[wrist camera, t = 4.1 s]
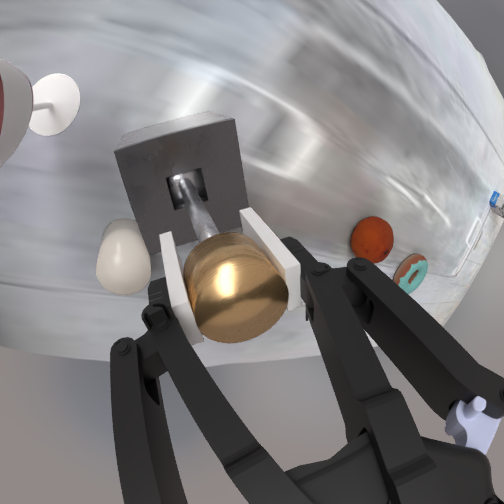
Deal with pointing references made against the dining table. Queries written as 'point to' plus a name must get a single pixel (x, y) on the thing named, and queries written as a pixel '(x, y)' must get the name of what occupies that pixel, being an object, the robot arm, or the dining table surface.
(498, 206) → the ink box
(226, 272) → the gold knobbed rod
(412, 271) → the donut
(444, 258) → the dining table surface
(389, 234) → the fruit
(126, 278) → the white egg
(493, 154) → the dining table surface
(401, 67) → the dining table surface
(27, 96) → the wineglass
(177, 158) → the grey block with hole
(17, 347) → the dining table surface
